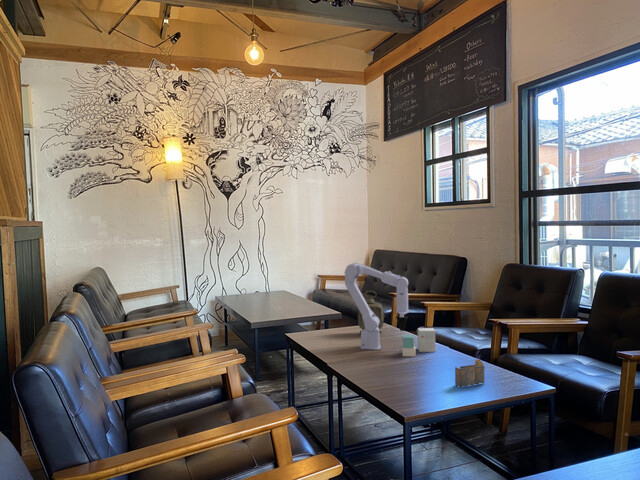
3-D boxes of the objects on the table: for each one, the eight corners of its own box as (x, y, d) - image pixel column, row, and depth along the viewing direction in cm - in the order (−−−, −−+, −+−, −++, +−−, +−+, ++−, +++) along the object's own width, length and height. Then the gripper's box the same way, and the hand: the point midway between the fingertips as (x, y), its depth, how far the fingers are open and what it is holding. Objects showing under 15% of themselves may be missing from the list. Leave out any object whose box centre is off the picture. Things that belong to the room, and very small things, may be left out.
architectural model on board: (479, 382, 179) (479, 358, 178) (484, 385, 176) (484, 360, 176) (454, 386, 175) (454, 361, 175) (459, 388, 172) (459, 363, 172)
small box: (433, 349, 226) (433, 328, 226) (435, 352, 221) (435, 330, 220) (417, 348, 227) (417, 327, 227) (418, 351, 221) (418, 330, 221)
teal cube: (402, 347, 215) (402, 337, 215) (403, 345, 220) (403, 334, 220) (413, 348, 214) (413, 337, 214) (414, 345, 219) (414, 335, 219)
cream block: (402, 356, 215) (402, 348, 215) (402, 353, 221) (402, 344, 221) (415, 356, 214) (415, 348, 214) (415, 353, 220) (415, 345, 220)
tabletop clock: (383, 332, 261) (382, 289, 260) (384, 336, 252) (383, 291, 251) (358, 332, 262) (357, 289, 261) (357, 336, 253) (357, 291, 252)
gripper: (410, 304, 217) (410, 332, 217) (411, 299, 231) (411, 325, 231) (395, 304, 218) (395, 332, 219) (396, 299, 232) (397, 325, 233)
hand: (402, 328), depth 225 cm, fingers open, 7 cm apart
